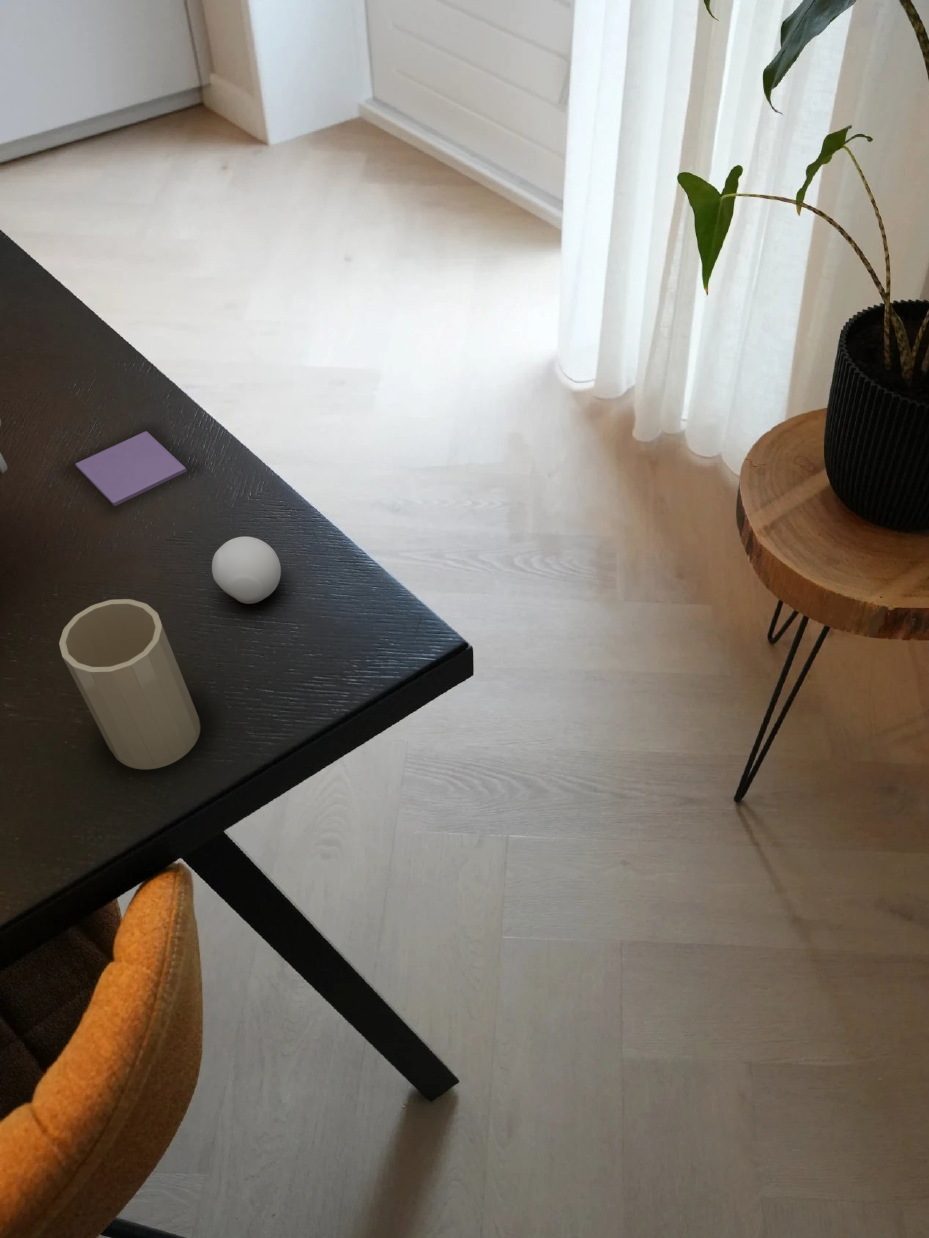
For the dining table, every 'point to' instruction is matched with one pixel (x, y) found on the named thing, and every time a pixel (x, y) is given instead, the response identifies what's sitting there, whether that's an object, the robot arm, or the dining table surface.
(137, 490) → the napkin
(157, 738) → the cup
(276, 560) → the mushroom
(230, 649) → the dining table surface
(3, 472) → the robot arm
